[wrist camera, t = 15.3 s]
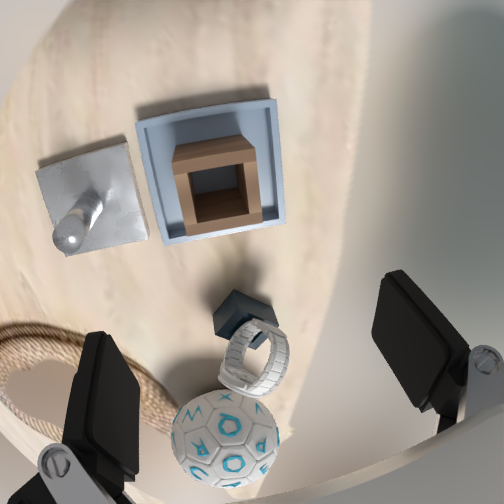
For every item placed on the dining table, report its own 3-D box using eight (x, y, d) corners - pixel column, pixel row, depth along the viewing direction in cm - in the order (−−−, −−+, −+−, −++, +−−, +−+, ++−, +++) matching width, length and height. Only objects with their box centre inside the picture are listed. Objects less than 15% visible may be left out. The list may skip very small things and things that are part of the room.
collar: (175, 145, 25) (171, 162, 19) (241, 134, 25) (255, 148, 20) (187, 205, 27) (187, 236, 22) (248, 194, 28) (262, 222, 23)
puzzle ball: (286, 387, 46) (313, 470, 33) (224, 427, 50) (238, 501, 37) (209, 355, 39) (224, 461, 26) (150, 404, 43) (152, 491, 30)
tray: (165, 235, 29) (164, 246, 27) (139, 119, 23) (134, 122, 21) (280, 214, 30) (286, 223, 29) (270, 98, 24) (276, 99, 23)
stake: (69, 250, 28) (44, 297, 21) (40, 167, 23) (0, 197, 17) (149, 233, 29) (140, 279, 22) (126, 141, 24) (104, 163, 17)
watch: (203, 326, 36) (212, 405, 27) (243, 277, 33) (265, 356, 24) (242, 341, 38) (259, 415, 29) (282, 297, 36) (313, 371, 26)
